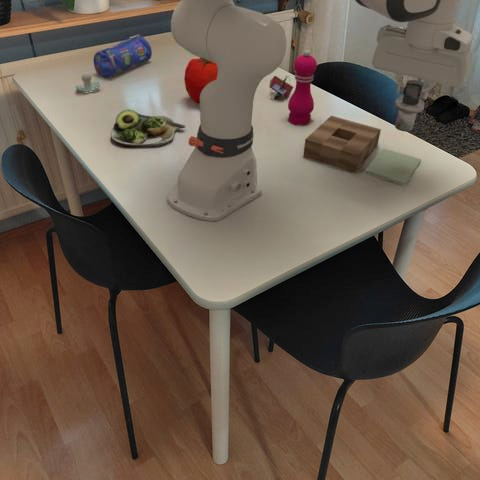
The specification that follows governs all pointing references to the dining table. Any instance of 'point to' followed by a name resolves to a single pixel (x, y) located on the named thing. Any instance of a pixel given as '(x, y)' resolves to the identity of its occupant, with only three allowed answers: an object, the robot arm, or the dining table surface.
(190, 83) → the tomato
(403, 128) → the flanged metal shaft
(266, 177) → the dining table surface
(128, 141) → the salad plate
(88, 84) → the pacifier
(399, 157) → the mat
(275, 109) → the dining table surface
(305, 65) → the pepper mill
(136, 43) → the pencil case
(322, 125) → the block
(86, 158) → the dining table surface
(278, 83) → the geometric puzzle
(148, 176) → the dining table surface
